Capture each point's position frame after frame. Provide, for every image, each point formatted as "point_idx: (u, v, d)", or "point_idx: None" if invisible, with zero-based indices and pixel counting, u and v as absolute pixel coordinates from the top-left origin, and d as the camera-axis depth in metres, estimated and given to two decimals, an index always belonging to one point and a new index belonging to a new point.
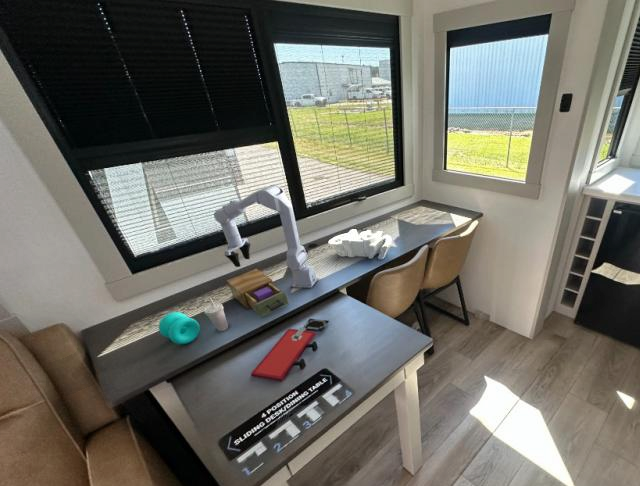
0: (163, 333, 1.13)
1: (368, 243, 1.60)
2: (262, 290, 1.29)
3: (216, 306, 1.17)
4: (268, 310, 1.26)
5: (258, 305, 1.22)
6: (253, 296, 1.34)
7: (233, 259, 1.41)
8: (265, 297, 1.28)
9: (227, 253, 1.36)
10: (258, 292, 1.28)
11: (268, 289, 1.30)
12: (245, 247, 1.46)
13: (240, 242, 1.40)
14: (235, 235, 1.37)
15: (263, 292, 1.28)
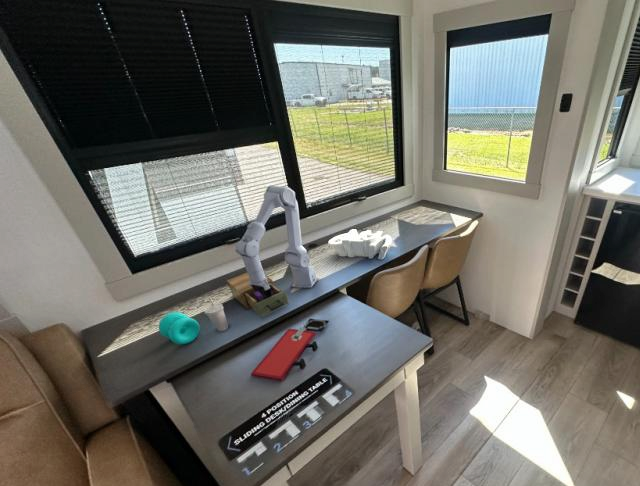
0: (163, 333, 1.13)
1: (368, 243, 1.60)
2: None
3: (216, 306, 1.17)
4: (268, 310, 1.26)
5: (258, 305, 1.22)
6: (253, 296, 1.34)
7: (265, 294, 1.26)
8: None
9: (267, 287, 1.22)
10: (258, 292, 1.28)
11: None
12: None
13: None
14: (261, 266, 1.24)
15: None
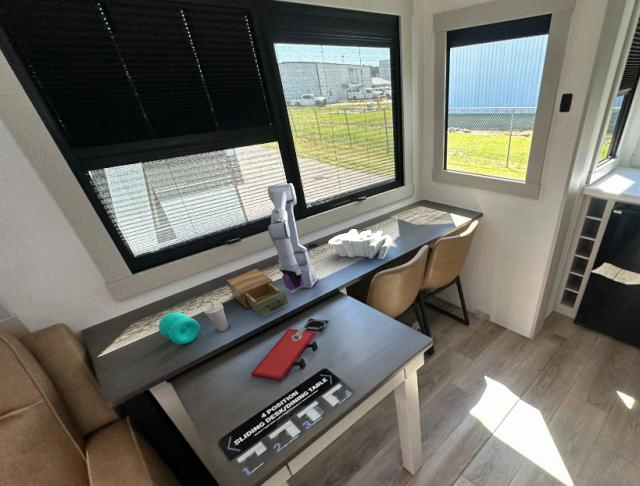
0: (163, 333, 1.13)
1: (368, 243, 1.60)
2: None
3: (216, 306, 1.17)
4: (268, 310, 1.26)
5: (258, 305, 1.22)
6: (253, 296, 1.34)
7: (295, 279, 1.22)
8: None
9: (299, 271, 1.18)
10: (287, 275, 1.23)
11: None
12: None
13: None
14: None
15: None
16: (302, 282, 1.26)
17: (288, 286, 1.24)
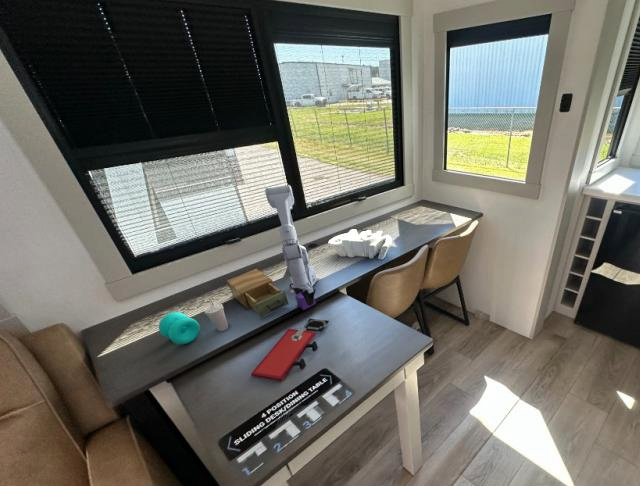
0: (163, 333, 1.13)
1: (368, 243, 1.60)
2: None
3: (216, 306, 1.17)
4: (268, 310, 1.26)
5: (258, 305, 1.22)
6: (253, 296, 1.34)
7: (308, 297, 1.26)
8: None
9: (311, 290, 1.22)
10: (299, 295, 1.28)
11: None
12: None
13: None
14: None
15: None
16: None
17: (300, 305, 1.29)
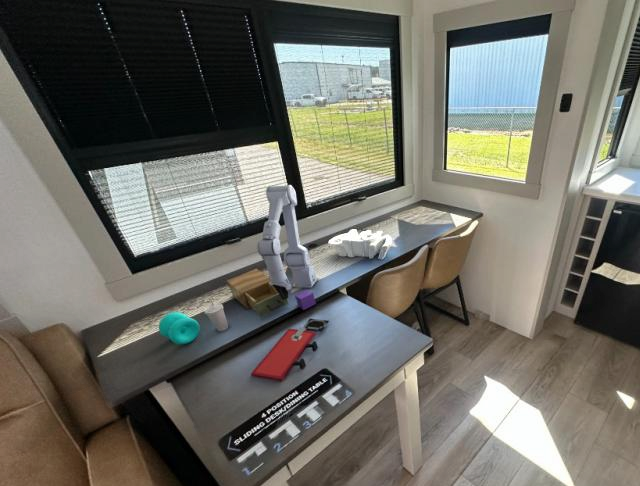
0: (163, 333, 1.13)
1: (368, 243, 1.60)
2: (303, 293, 1.29)
3: (216, 306, 1.17)
4: (268, 310, 1.26)
5: (258, 305, 1.22)
6: (253, 296, 1.34)
7: (282, 291, 1.25)
8: (306, 300, 1.28)
9: (289, 287, 1.19)
10: (299, 295, 1.28)
11: (309, 292, 1.30)
12: None
13: None
14: None
15: (304, 295, 1.28)
16: (313, 301, 1.31)
17: (300, 305, 1.29)
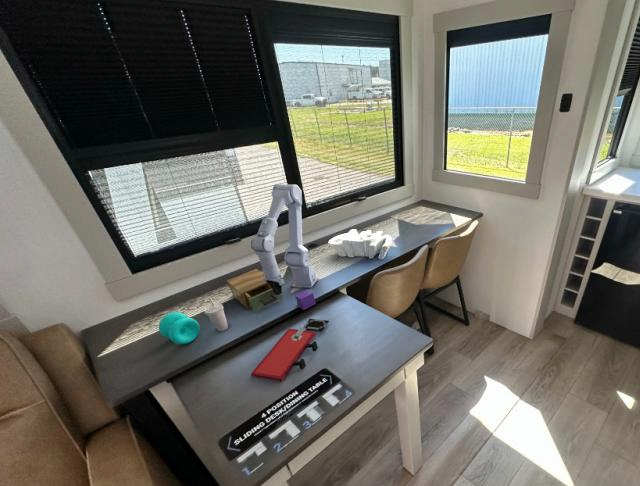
0: (163, 333, 1.13)
1: (368, 243, 1.60)
2: (303, 293, 1.29)
3: (216, 306, 1.17)
4: (262, 305, 1.29)
5: (252, 300, 1.25)
6: None
7: (276, 287, 1.28)
8: (306, 300, 1.28)
9: (282, 282, 1.23)
10: (299, 295, 1.28)
11: (309, 292, 1.30)
12: None
13: None
14: None
15: (304, 295, 1.28)
16: (313, 301, 1.31)
17: (300, 305, 1.29)
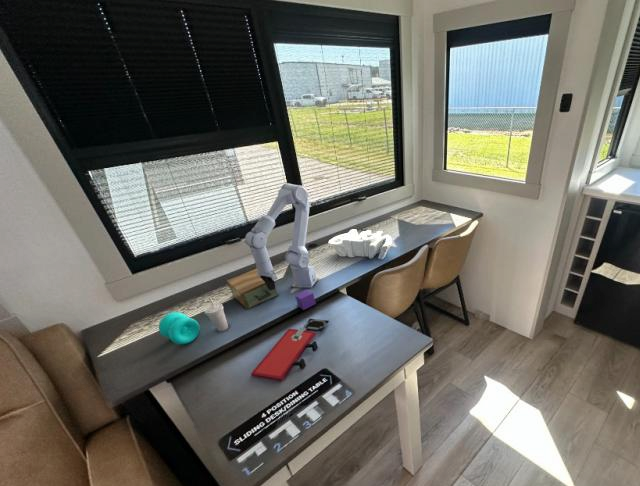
0: (163, 333, 1.13)
1: (368, 243, 1.60)
2: (303, 293, 1.29)
3: (216, 306, 1.17)
4: (256, 300, 1.32)
5: (246, 295, 1.28)
6: None
7: (268, 282, 1.32)
8: (306, 300, 1.28)
9: (275, 277, 1.26)
10: (299, 295, 1.28)
11: (309, 292, 1.30)
12: None
13: None
14: (269, 258, 1.28)
15: (304, 295, 1.28)
16: (313, 301, 1.31)
17: (300, 305, 1.29)
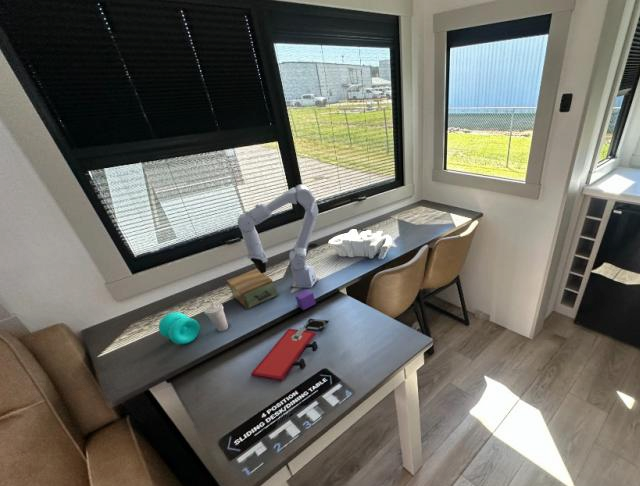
0: (163, 333, 1.13)
1: (368, 243, 1.60)
2: (303, 293, 1.29)
3: (216, 306, 1.17)
4: (256, 300, 1.32)
5: (246, 295, 1.28)
6: None
7: (260, 265, 1.34)
8: (306, 300, 1.28)
9: (265, 259, 1.29)
10: (299, 295, 1.28)
11: (309, 292, 1.30)
12: None
13: None
14: (259, 242, 1.29)
15: (304, 295, 1.28)
16: (313, 301, 1.31)
17: (300, 305, 1.29)
